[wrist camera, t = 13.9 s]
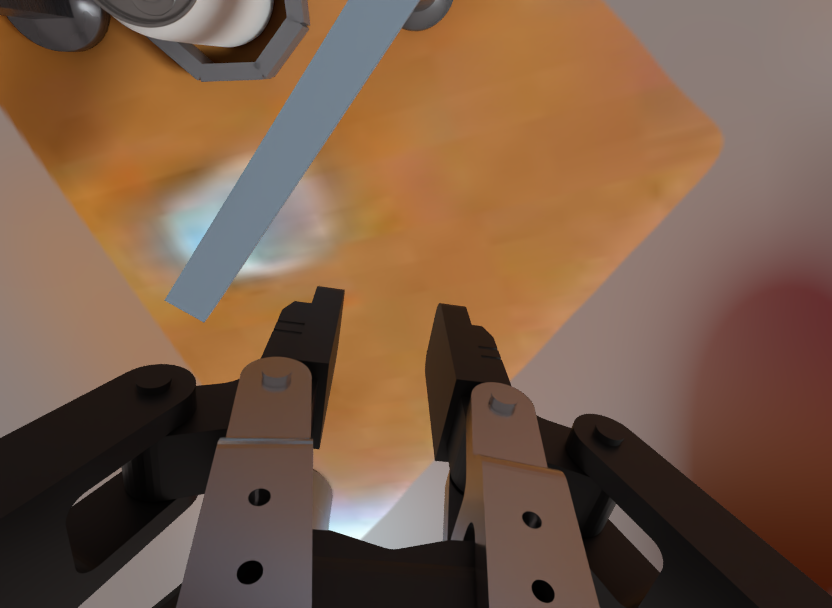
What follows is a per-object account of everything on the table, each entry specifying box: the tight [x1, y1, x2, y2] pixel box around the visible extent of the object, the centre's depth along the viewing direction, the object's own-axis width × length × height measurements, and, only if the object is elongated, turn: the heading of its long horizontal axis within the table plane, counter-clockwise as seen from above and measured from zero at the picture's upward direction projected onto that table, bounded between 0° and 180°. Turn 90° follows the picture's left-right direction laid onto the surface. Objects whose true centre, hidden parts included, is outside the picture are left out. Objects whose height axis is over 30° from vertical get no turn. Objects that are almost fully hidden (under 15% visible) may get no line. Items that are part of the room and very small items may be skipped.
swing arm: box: [165, 0, 420, 322], centre depth 20 cm, size 21×4×2 cm, turn 142°
